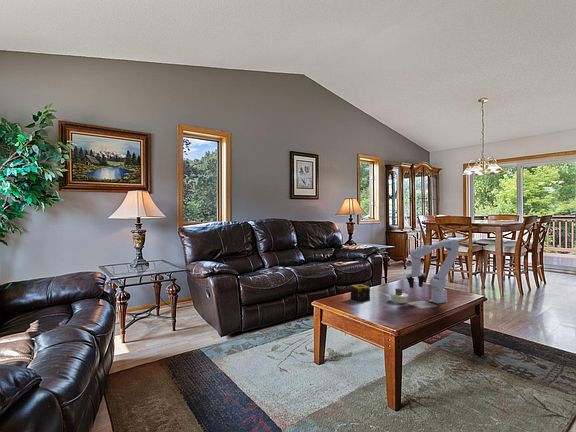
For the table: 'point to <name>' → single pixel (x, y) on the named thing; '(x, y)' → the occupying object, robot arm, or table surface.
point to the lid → (398, 293)
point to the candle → (360, 293)
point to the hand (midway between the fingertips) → (416, 287)
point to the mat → (422, 304)
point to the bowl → (398, 300)
